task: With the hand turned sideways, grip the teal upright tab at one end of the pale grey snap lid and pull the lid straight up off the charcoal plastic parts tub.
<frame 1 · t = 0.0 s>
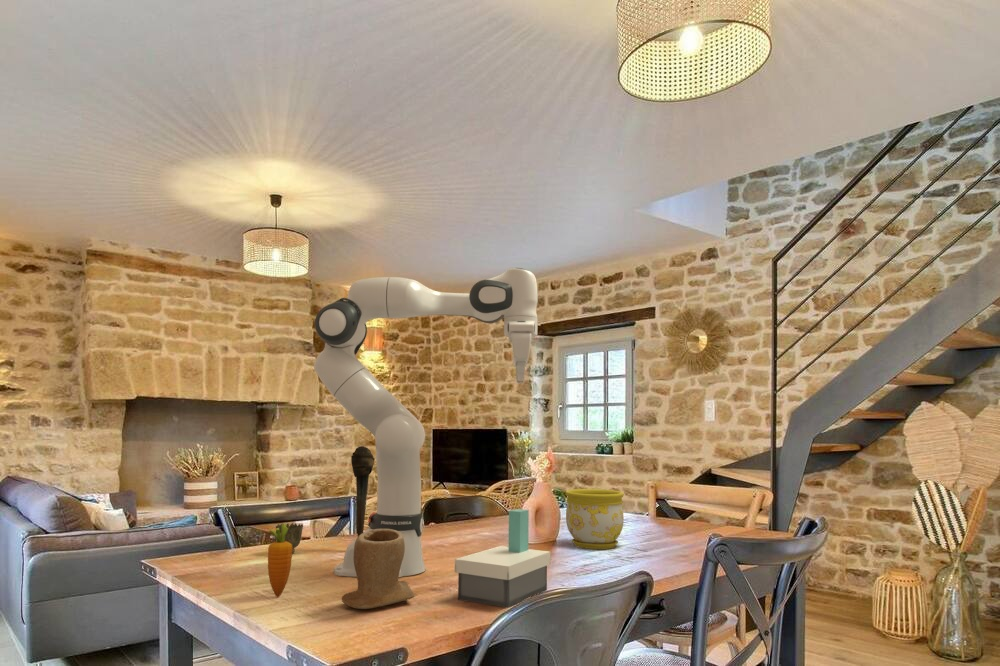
hand: (520, 381, 175), 48 cm above the table, tool pointing down, fingers open, 8 cm apart
decorative torch: (359, 552, 194), on the table
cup: (287, 554, 189), on the table
carrot: (277, 598, 143), on the table
flowerpot: (594, 546, 208), on the table
tub: (503, 594, 147), on the table
lid: (504, 540, 149), point 11 cm above the table, slide at 0.0 cm
brown boot-shaped piece: (381, 606, 138), on the table
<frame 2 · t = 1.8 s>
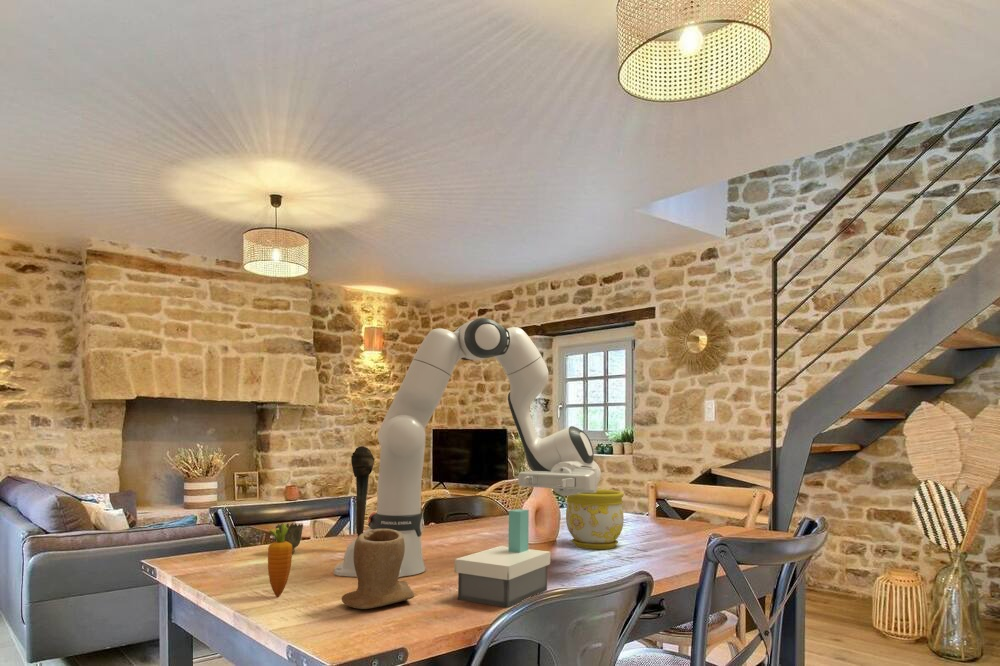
hand: (543, 482, 166), 23 cm above the table, tool horizontal, fingers open, 8 cm apart
nothing on the table moved.
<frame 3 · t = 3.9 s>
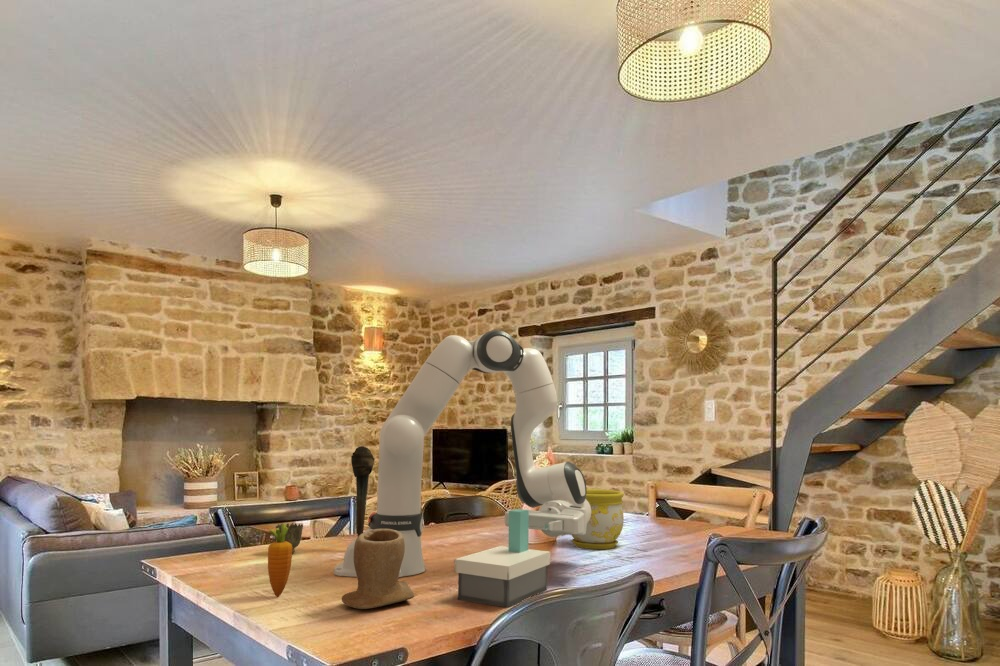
hand: (529, 524, 159), 13 cm above the table, tool horizontal, fingers open, 8 cm apart
nothing on the table moved.
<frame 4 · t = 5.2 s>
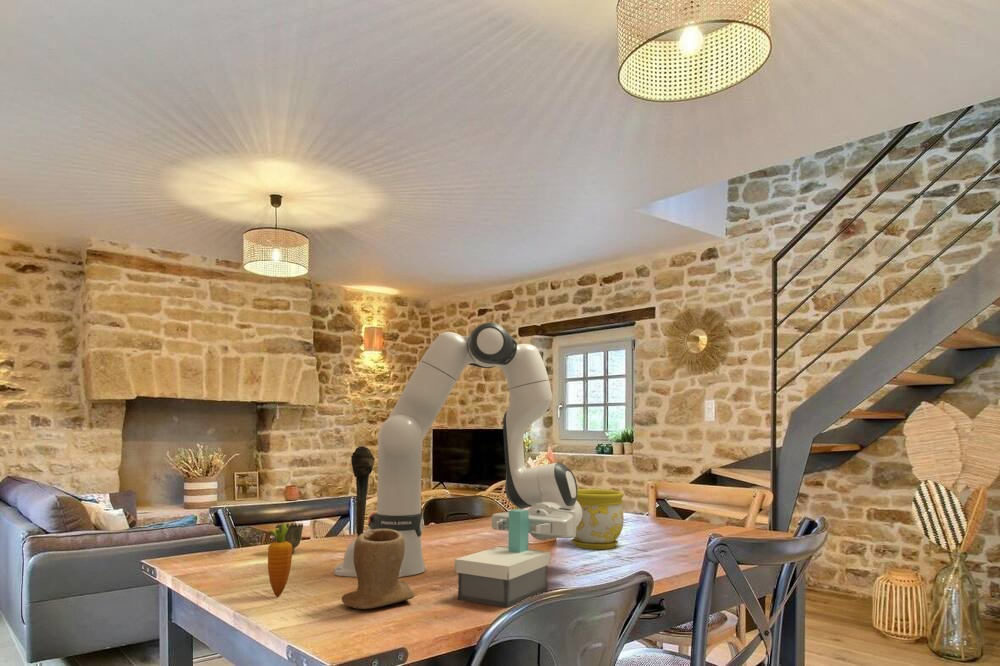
hand: (516, 527, 154), 14 cm above the table, tool horizontal, fingers open, 8 cm apart
nothing on the table moved.
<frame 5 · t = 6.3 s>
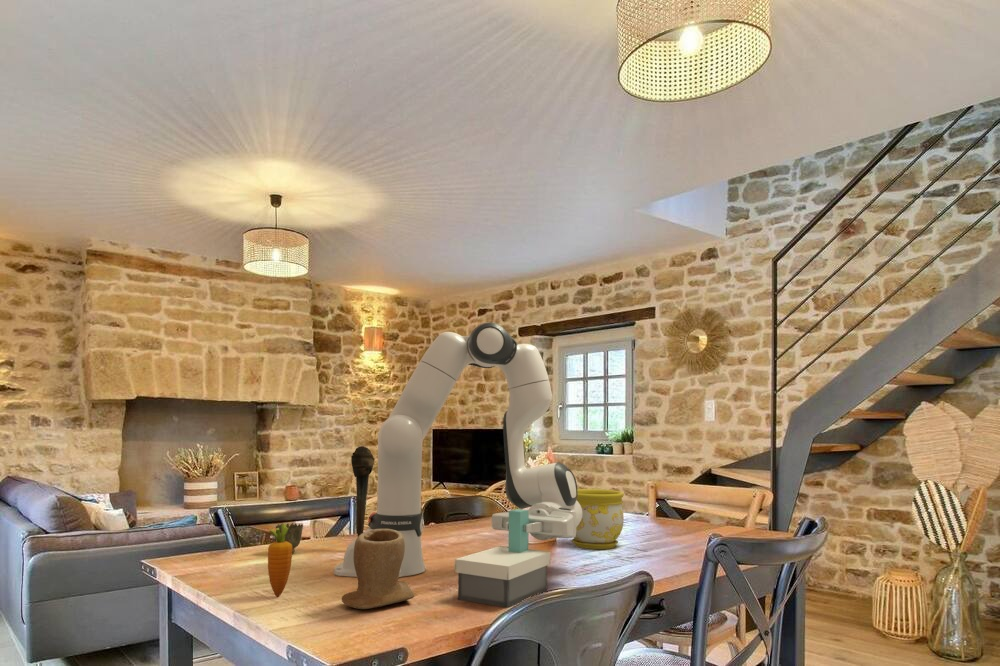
hand: (516, 527, 154), 14 cm above the table, tool horizontal, fingers closed on lid, 3 cm apart
lid: (504, 540, 149), point 11 cm above the table, slide at 0.0 cm, touching gripper
everything else where it was.
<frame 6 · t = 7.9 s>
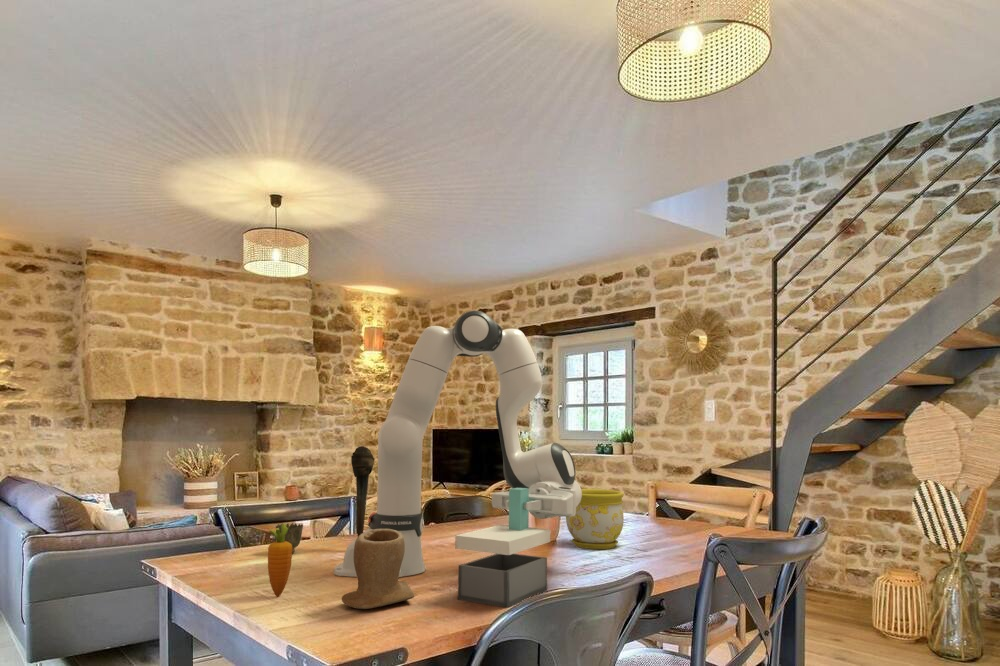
hand: (516, 505, 154), 18 cm above the table, tool horizontal, fingers closed on lid, 3 cm apart
lid: (504, 517, 149), point 16 cm above the table, slide at 4.9 cm, touching gripper
everything else where it was.
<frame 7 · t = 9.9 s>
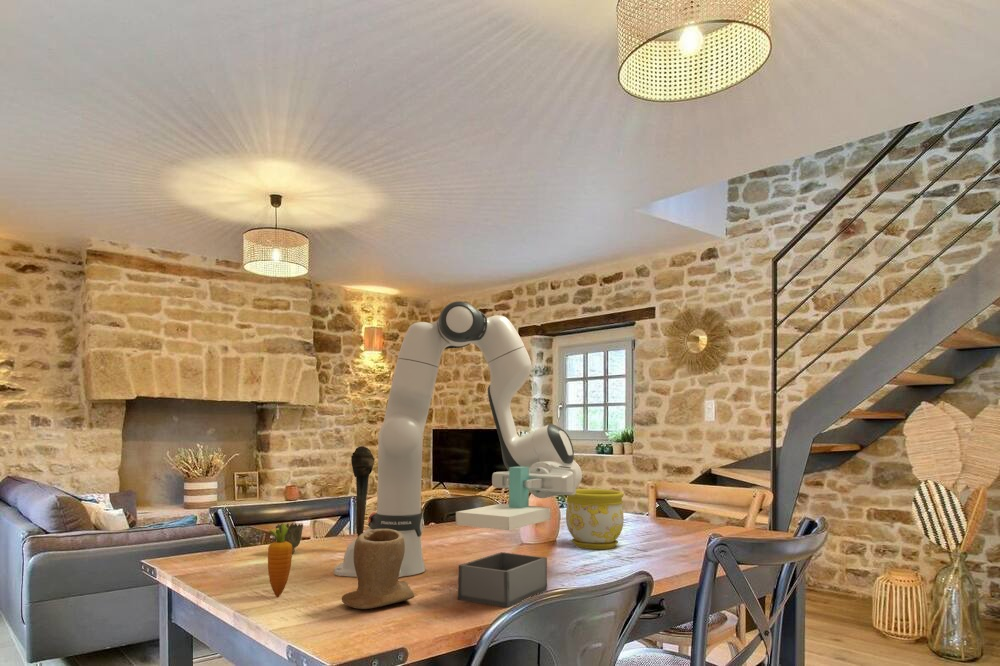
hand: (517, 483, 155), 23 cm above the table, tool horizontal, fingers closed on lid, 3 cm apart
lid: (504, 495, 150), point 21 cm above the table, slide at 9.8 cm, touching gripper
everything else where it was.
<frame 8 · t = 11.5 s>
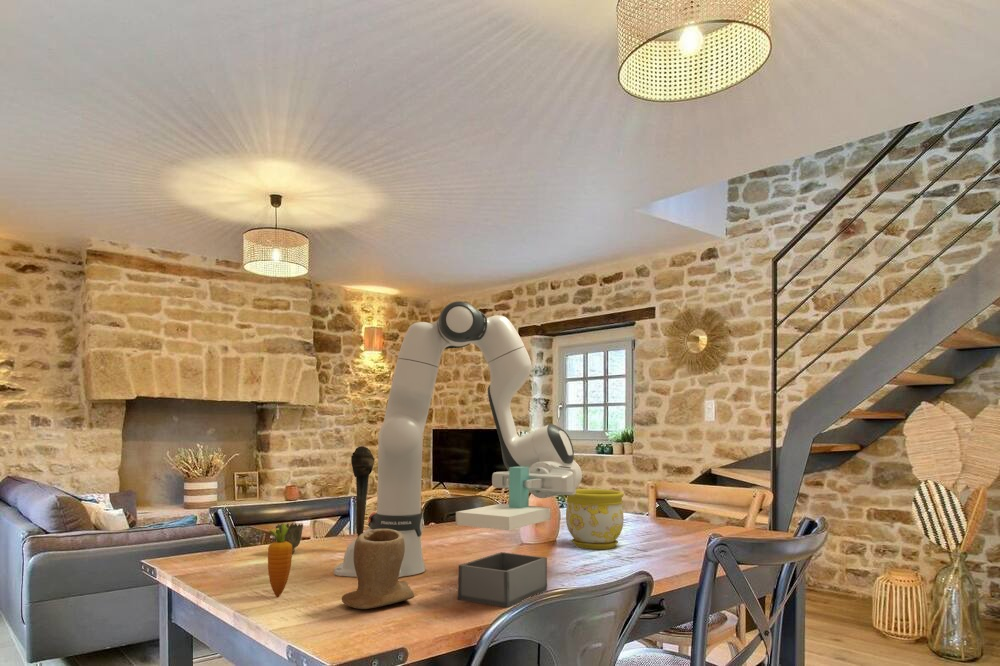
hand: (517, 483, 155), 23 cm above the table, tool horizontal, fingers closed on lid, 3 cm apart
lid: (504, 495, 150), point 21 cm above the table, slide at 9.8 cm, touching gripper
everything else where it was.
at the end: lid slide at 9.8 cm; brown boot-shaped piece moved 0.3 cm from its start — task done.
